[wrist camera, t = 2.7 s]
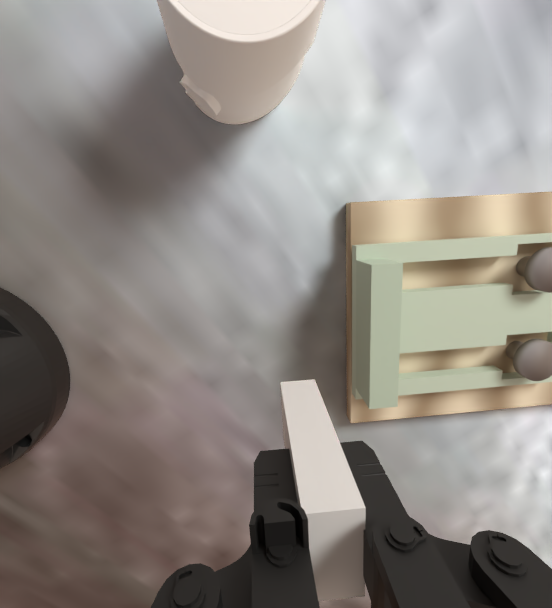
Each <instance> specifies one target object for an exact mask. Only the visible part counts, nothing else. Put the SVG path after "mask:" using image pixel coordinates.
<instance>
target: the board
mask: <svg viewBox="0 0 552 608" xmlns="http://www.w3.org/2000/svg"><path fill="white" fill-rule="evenodd" d="M540 233H552V192H537V193H519V194H500V195H482V196H463V197H445V198H426V199H408V200H389V201H371V202H352V203H347V204H346V344H347V417H348V419H349V421H350V423H358V422H369V421H379V420H390V419H400V418H411V417H422V416H432V415H443V414H453V413H464V412H475V411H485V410H496V409H506V408H517V407H527V406H538V405H549V404H552V382H545V383H534V384H522V385H511V386H500V387H489V388H478V389H467V390H456V391H445V392H434V393H423V394H412V395H401V396H398V407H388V408H377V409H369V408H368V406H367V405H366V403H365V402H364V400H363V399H355V398H354V396H353V394H352V245H362V244H378V243H394V242H410V241H426V240H442V239H459V238H475V237H491V236H507V235H523V234H540ZM489 283H507V284H512V285H513V290H512V292H516V291H530V290H539V291H543V292H548V293H552V242H545V243H529V244H518V249H517V255H513V256H498V257H482V258H467V259H452V260H437V261H421V262H406V263H403V279H402V290H404V289H418V288H432V287H446V286H461V285H475V284H489ZM547 335H548V332H541V333H528V334H516V335H507V339H506V345H498V346H486V347H474V348H462V349H449V350H437V351H425V352H413V353H401V354H400V356H399V373H411V372H422V371H434V370H446V369H457V368H469V367H481V366H492V365H494V366H495V367H497V368H499V369H501V370H502V373H512V372H517V373H518V374H520V375H522V376H523V377H525V378H527V379H529V380H531V381H542V380H545V379H547V378H549V377H550V376H552V343H550V342H548V341H547Z"/></svg>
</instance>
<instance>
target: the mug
mask: <svg viewBox="0 0 552 608" xmlns="http://www.w3.org/2000/svg"><path fill="white" fill-rule="evenodd" d="M325 1H326V0H157V2H158V6H159V9H160V13H161V16H162V19H163V23H164V26H165V30H166V33H167V36H168V40H169V43H170V46H171V49H172V51H173V54H174V56H175V58H176V60H177V62H178V64H179V65H180V67H181V68H182V70H183V73H184V76H183V78H182V79H181V81H180V82H179V83H180V84H181V85H182V86H183V87H184V88H185V89H186V91H185V93H186V94H187V95H188V96H189V97H190V98H191V99H192V100H193V101H194V102H195V105H196V106H198V107H199V109H200V110H201V111H202V112H203V113H204V114H206V115H207V116H208V117H210V118H212V119H213V120H216V121H218V122H221V123H225V124H244V123H249V122H252V121H254V120H257V119H259V118H261V117H263V116H264V115H266V114H268V113H269V112H270V111H272V110H273V109H274V108H275V107H276V106H277V105H278V104H279V103H280V102H281V101H282V100H283V99H284V98H285V97H286V95H287V94H288V93H289V91H290V90H291V88H292V87H293V85H294V83H295V81H296V79H297V77H298V75H299V73H300V70H301V68H302V65H303V61H304V58H305V54H306V53H307V51H308V50H309V49H310V47H311V46H312V44H313V42H314V40H315V36H316V33H317V29H318V26H319V22H320V19H321V15H322V12H323V8H324V5H325Z"/></svg>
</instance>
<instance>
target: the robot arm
mask: <svg viewBox="0 0 552 608" xmlns="http://www.w3.org/2000/svg"><path fill="white" fill-rule="evenodd" d="M280 386H281V403H282V421H283V438H284V445H285V449H279V450H268V451H260V453H259V455H258V456H257V458H256V460H255V462H254V512H253V514H252V516H251V520H250V524H249V527H250V538H251V545H250V547H249V548H248V550H247V551H246V553H245V554H244V555H243V556H242V557H241V558H240V559H239V560H237V561H236V562H234V563H232V564H231V565H229V566H227V567H225V568H222V569H220V570H218V571H216V572H214V571H213V570H212V569H211V567H208V566H205V565H203V564H189V565H187V566H185V567H183V568H180V569H178V570H177V571H176V572H174V573H173V574H172V575H171V576H170V577H169V578H167V580H166V581H165V583H164V584H163V586H162V587H161V589H160V590H159V592H158V594H157V596H156V598H155V600H154V602H153V604H152V606H151V608H319V601H327V600H336V599H344V598H353V597H362V596H365V583H366V586H367V590H368V593H369V596H370V599H371V608H552V569H551V568H550V567H549V566H548V565H547V564H545V563H544V562H543V561H542V560H541V559H540V558H539V557H538V556H536V555H535V554H534V553H533V552H532V551H531V550H530V549H529V548H527V547H526V546H524V545H523V544H522V543H520V542H519V541H518V540H516V539H514V538H512V537H510V536H508V535H506V534H503V533H500V532H495V531H490V530H488V531H482V532H478V533H477V534H476V535H474V536H473V537H472V541H471V545H467V544H462V543H458V542H453V541H448V540H444V539H440V538H437V537H434V536H432V535H430V534H428V532H427V531H426V530H425V529H424V527H423V526H422V525H421V524H419V523H418V522H417V521H415V520H414V519H412V518H410V517H409V515H408V514H407V512H406V510H405V509H404V507H403V505H402V503H401V501H400V499H399V497H398V495H397V494H396V492H395V490H394V488H393V486H392V484H391V482H390V480H389V479H388V477H387V475H386V474H385V471H384V469H383V467H382V465H380V462H379V460H378V458H377V456H376V454H375V452H374V451H373V450H372V449H371V448H370V447H369V446H368V445H366V444H365V443H364V442H363V441H354V442H343V443H340V442H339V439H338V437H337V434H336V432H335V429H334V427H333V424H332V422H331V419H330V417H329V414H328V412H327V409H326V407H325V404H324V402H323V399H322V397H321V394H320V392H319V389H318V386H317V384H316V381H315V379H312V380H300V381H288V382H280ZM69 390H70V373H69V367H68V362H67V358H66V355H65V353H64V350H63V348H62V345H61V343H60V342H59V340H58V338H57V336H56V335H55V333H54V331H53V330H52V329H51V327H50V326H49V325H48V324H47V322H46V321H45V320H44V319H43V318H42V317H41V316H40V315H39V314H38V313H37V312H36V311H35V310H34V309H33V308H32V307H30V306H29V305H28V304H27V303H25V302H24V301H23V300H21V299H20V298H18V297H17V296H15V295H13V294H12V293H10V292H8V291H6V290H4V289H2V288H0V468H2V467H4V466H6V465H8V464H10V463H11V462H13V461H15V460H16V459H18V458H20V457H21V456H22V455H24V454H25V453H27V452H28V451H29V450H30V449H31V448H33V447H34V446H35V445H36V444H37V443H38V442H39V441H40V440H41V439H42V438H43V437H44V436H45V435H46V434H47V433H48V432H49V431H50V430H51V429H52V428H53V426H54V425H55V424H56V423H57V421H58V420H59V418H60V417H61V415H62V413H63V411H64V409H65V406H66V403H67V400H68V396H69Z"/></svg>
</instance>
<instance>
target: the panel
mask: <svg viewBox="0 0 552 608" xmlns="http://www.w3.org/2000/svg"><path fill="white" fill-rule="evenodd" d="M545 242H552V233H540V234H523V235H507V236H491V237H475V238H459V239H442V240H426V241H410V242H394V243H378V244H362V245H352V394H353V396H354V398H355V399H363V400H364V402H365V403H366V405H367V406H368V408H369V409H377V408H388V407H398V396H401V395H412V394H423V393H434V392H445V391H456V390H467V389H478V388H489V387H500V386H511V385H522V384H534V383H545V382H552V376H550V377H549V378H547V379H545V380H542V381H531V380H529V379H527V378H525V377H523V376H522V375H520V374H518V373H517V372H512V373H502V370H501V369H499V368H497V367H495V366H494V365H492V366H481V367H469V368H457V369H446V370H434V371H422V372H411V373H399V356H400V354H401V353H413V352H425V351H437V350H449V349H462V348H474V347H486V346H498V345H506V339H507V335H516V334H528V333H541V332H548V335H547V341H548V342H550V343H552V293H548V292H543V291H539V290H530V291H516V292H512V290H513V285H512V284H507V283H489V284H475V285H461V286H446V287H432V288H418V289H404V290H402V279H403V263H406V262H421V261H437V260H452V259H467V258H482V257H498V256H513V255H517V249H518V244H529V243H545Z"/></svg>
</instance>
